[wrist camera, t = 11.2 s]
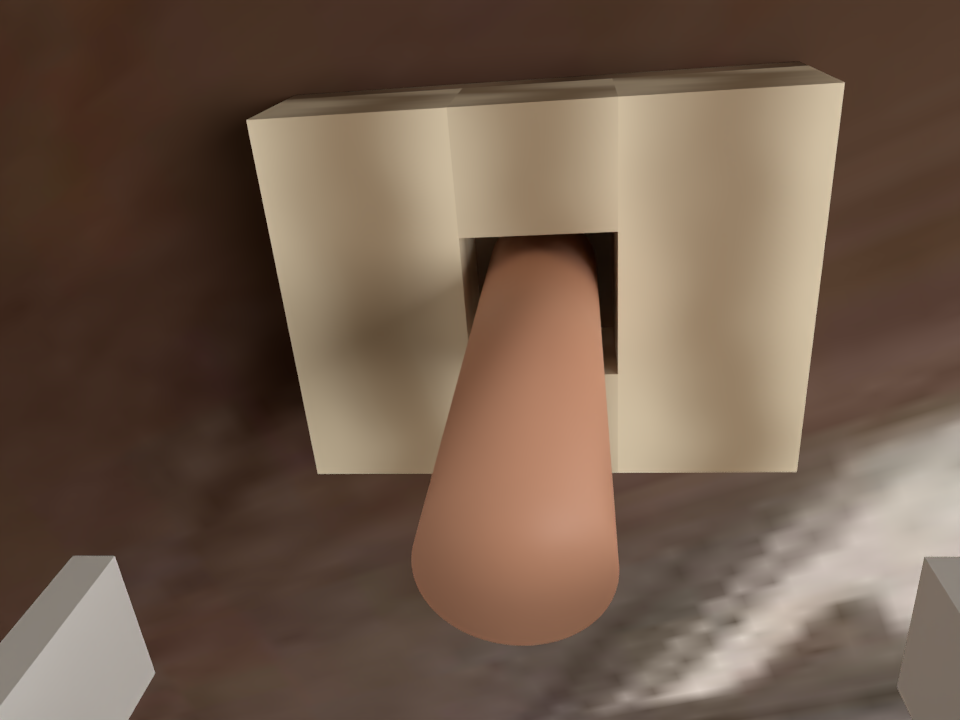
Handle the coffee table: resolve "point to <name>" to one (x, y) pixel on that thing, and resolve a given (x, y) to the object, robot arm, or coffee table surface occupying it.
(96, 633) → the robot arm
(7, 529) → the coffee table surface
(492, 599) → the pin
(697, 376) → the bore block
